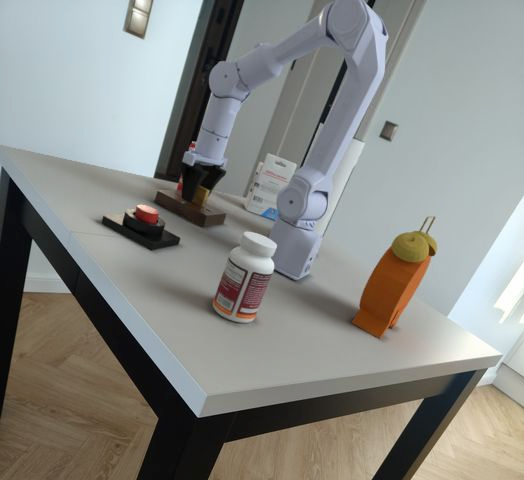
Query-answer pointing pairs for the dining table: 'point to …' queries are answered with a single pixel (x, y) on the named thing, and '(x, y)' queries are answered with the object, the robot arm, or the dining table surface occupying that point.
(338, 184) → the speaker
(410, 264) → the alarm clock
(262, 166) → the ink box
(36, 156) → the dining table surface
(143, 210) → the bell button
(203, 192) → the lock knob
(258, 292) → the pill bottle
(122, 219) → the box
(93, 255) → the dining table surface
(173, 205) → the plate
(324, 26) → the robot arm
